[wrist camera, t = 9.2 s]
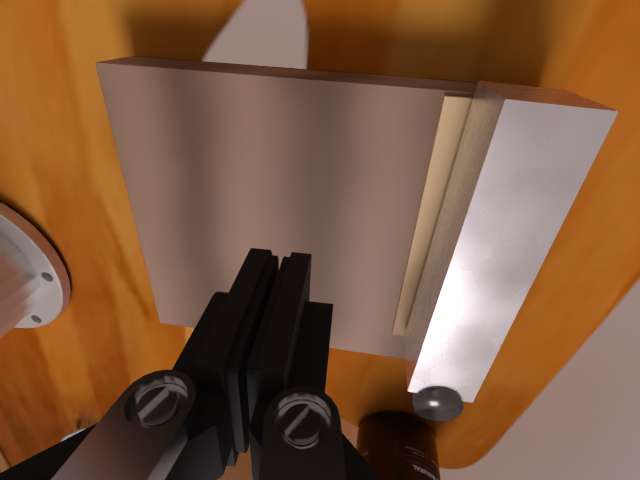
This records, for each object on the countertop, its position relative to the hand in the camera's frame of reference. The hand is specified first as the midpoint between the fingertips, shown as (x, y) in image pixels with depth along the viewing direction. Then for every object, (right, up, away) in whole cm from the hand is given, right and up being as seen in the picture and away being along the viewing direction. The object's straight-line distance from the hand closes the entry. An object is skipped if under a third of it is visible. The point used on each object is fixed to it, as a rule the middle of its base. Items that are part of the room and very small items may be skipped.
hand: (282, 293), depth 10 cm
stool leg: (+8, +1, +8) cm, 11 cm away
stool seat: (+1, +3, +12) cm, 12 cm away
